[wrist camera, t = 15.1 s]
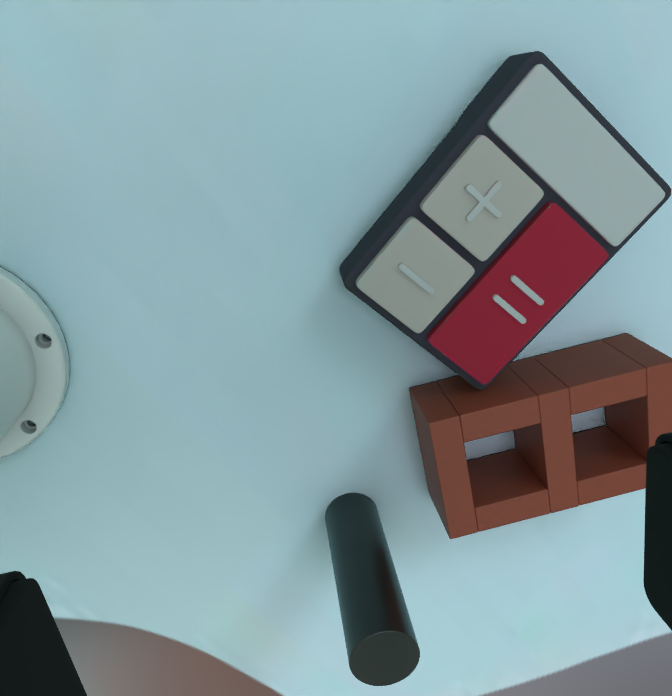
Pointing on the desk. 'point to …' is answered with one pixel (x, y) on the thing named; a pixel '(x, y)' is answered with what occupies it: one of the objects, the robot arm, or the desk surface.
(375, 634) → the peg
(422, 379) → the desk surface
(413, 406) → the hollow brick
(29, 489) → the desk surface
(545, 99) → the calculator
